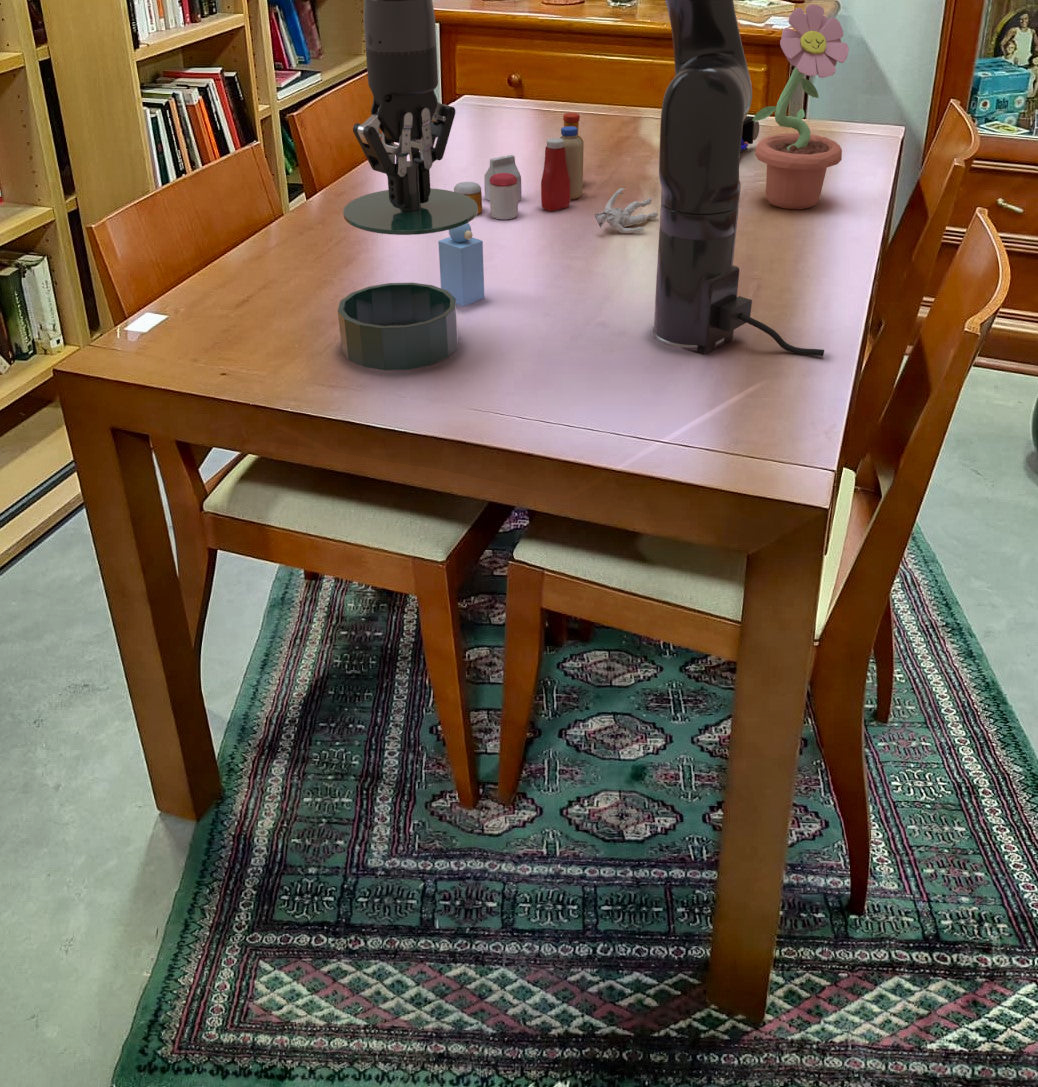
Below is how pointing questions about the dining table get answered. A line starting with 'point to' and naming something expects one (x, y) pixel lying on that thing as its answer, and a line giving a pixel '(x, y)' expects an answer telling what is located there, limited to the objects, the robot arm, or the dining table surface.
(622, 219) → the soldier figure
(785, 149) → the decorative flower
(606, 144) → the dining table surface
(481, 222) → the dining table surface
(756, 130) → the figurine character
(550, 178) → the toy food
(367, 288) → the pot
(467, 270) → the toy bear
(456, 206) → the lid
